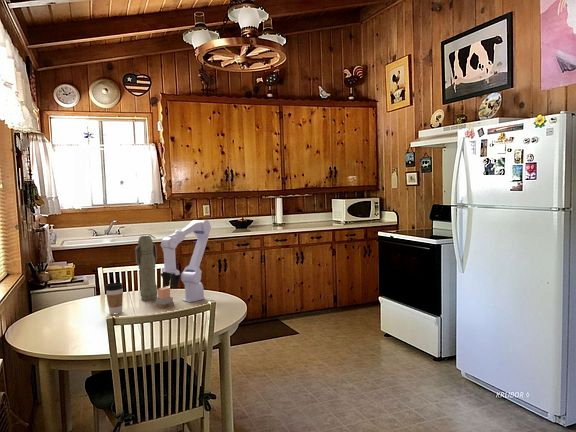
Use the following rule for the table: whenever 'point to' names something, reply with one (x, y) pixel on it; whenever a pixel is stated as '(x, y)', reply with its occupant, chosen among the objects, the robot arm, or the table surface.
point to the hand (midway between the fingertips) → (171, 287)
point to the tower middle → (164, 300)
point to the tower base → (164, 305)
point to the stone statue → (147, 267)
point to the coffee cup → (114, 297)
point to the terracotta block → (164, 293)
